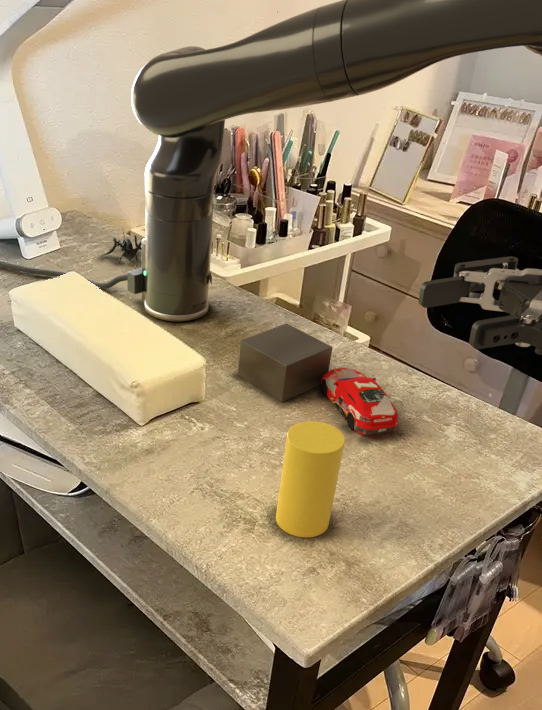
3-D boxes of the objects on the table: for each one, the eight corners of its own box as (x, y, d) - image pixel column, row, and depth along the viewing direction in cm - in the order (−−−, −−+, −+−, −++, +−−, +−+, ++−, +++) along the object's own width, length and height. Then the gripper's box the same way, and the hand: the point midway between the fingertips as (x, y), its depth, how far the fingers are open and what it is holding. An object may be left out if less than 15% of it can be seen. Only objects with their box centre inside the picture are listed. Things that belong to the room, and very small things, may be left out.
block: (237, 375, 98) (240, 340, 95) (282, 357, 102) (286, 323, 99) (281, 402, 93) (286, 365, 90) (327, 382, 97) (333, 346, 94)
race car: (314, 384, 97) (318, 356, 94) (354, 380, 98) (359, 352, 95) (356, 442, 87) (362, 412, 84) (400, 437, 88) (408, 407, 85)
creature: (96, 260, 129) (110, 267, 123) (93, 227, 127) (107, 232, 120) (140, 254, 132) (156, 261, 125) (138, 221, 129) (154, 226, 123)
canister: (264, 516, 76) (275, 433, 70) (301, 497, 79) (315, 414, 73) (302, 545, 73) (317, 460, 67) (339, 523, 76) (357, 439, 69)
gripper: (574, 218, 71) (411, 243, 68) (692, 274, 59) (503, 306, 57) (553, 296, 75) (400, 321, 73) (660, 361, 64) (483, 394, 62)
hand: (445, 314), depth 65 cm, fingers open, 8 cm apart
